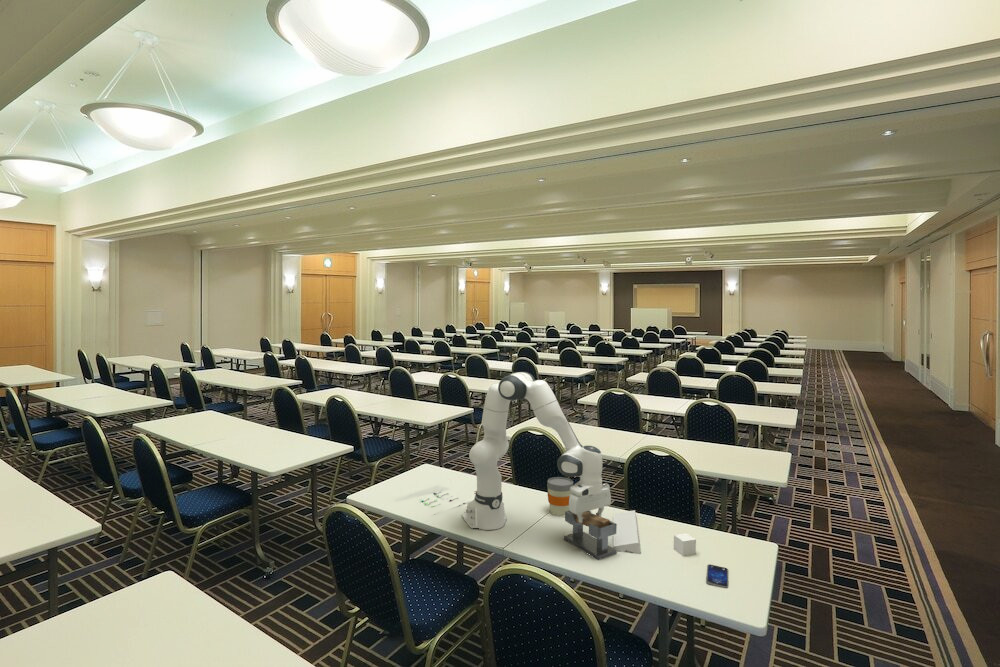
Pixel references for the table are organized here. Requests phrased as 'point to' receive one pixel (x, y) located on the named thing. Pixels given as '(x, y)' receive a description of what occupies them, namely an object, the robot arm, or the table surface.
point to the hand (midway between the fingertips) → (590, 519)
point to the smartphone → (717, 576)
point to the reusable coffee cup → (559, 495)
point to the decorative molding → (626, 532)
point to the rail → (593, 520)
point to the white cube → (684, 544)
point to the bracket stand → (589, 543)
